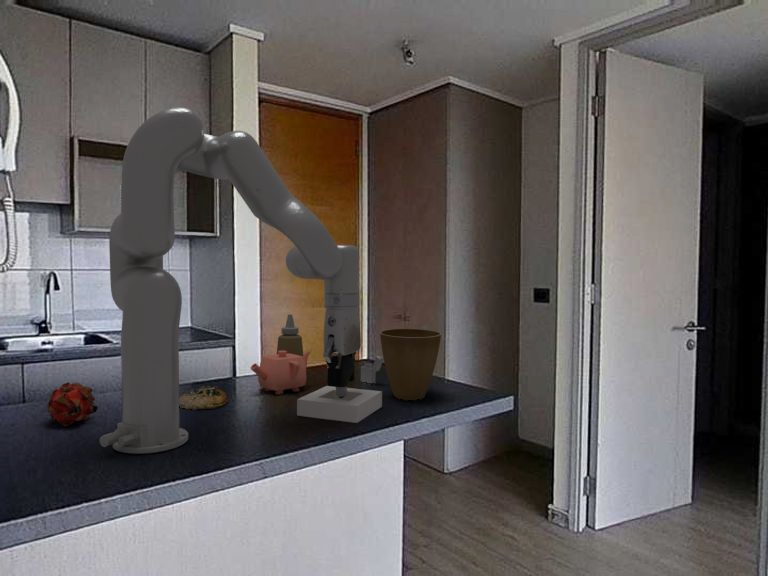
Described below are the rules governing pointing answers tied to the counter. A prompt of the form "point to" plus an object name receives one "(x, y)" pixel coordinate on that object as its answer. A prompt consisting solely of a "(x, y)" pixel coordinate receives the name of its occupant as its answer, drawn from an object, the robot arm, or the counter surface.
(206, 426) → the counter surface
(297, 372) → the teapot
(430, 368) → the plant pot
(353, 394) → the socket block
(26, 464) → the counter surface
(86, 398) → the dragon fruit
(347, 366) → the light bulb
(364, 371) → the lighter
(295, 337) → the squeeze bottle
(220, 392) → the bread roll
